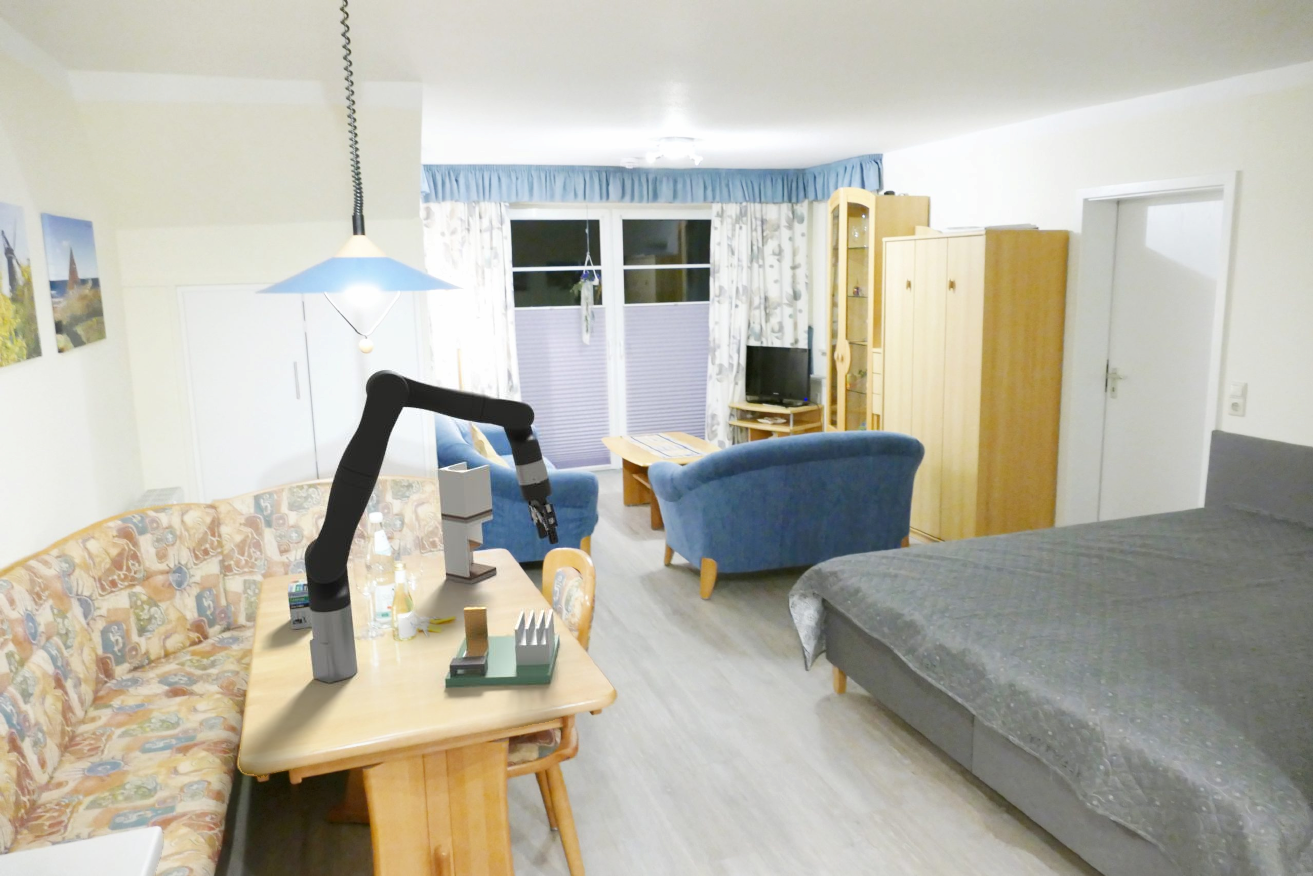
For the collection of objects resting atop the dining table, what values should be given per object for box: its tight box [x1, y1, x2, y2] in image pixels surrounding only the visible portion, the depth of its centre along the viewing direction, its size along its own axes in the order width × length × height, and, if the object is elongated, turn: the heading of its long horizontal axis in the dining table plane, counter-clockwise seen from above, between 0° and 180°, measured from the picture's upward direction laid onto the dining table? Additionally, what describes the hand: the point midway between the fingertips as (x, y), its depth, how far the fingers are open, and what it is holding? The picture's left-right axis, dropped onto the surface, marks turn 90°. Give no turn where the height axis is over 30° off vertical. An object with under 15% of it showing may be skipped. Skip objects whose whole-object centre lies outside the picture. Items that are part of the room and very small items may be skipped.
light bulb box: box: [287, 578, 312, 630], centre depth 251 cm, size 11×7×11 cm, turn 19°
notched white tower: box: [437, 461, 498, 585], centre depth 283 cm, size 11×11×35 cm
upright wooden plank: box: [463, 606, 489, 657], centre depth 220 cm, size 6×5×11 cm
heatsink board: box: [444, 609, 561, 688], centre depth 220 cm, size 24×24×11 cm
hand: (548, 540), depth 230 cm, fingers open, 8 cm apart
